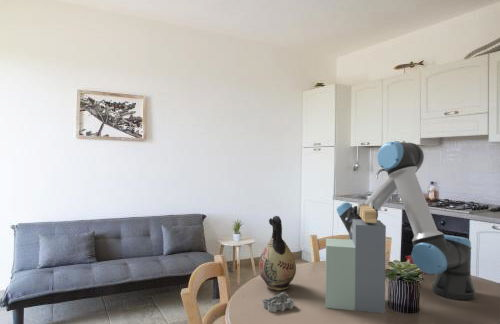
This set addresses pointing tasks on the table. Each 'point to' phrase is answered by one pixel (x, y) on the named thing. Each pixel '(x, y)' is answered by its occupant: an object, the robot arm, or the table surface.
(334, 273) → the two-step stand
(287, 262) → the ceramic jug
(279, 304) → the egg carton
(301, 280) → the table surface
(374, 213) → the oak bar
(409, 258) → the flower
